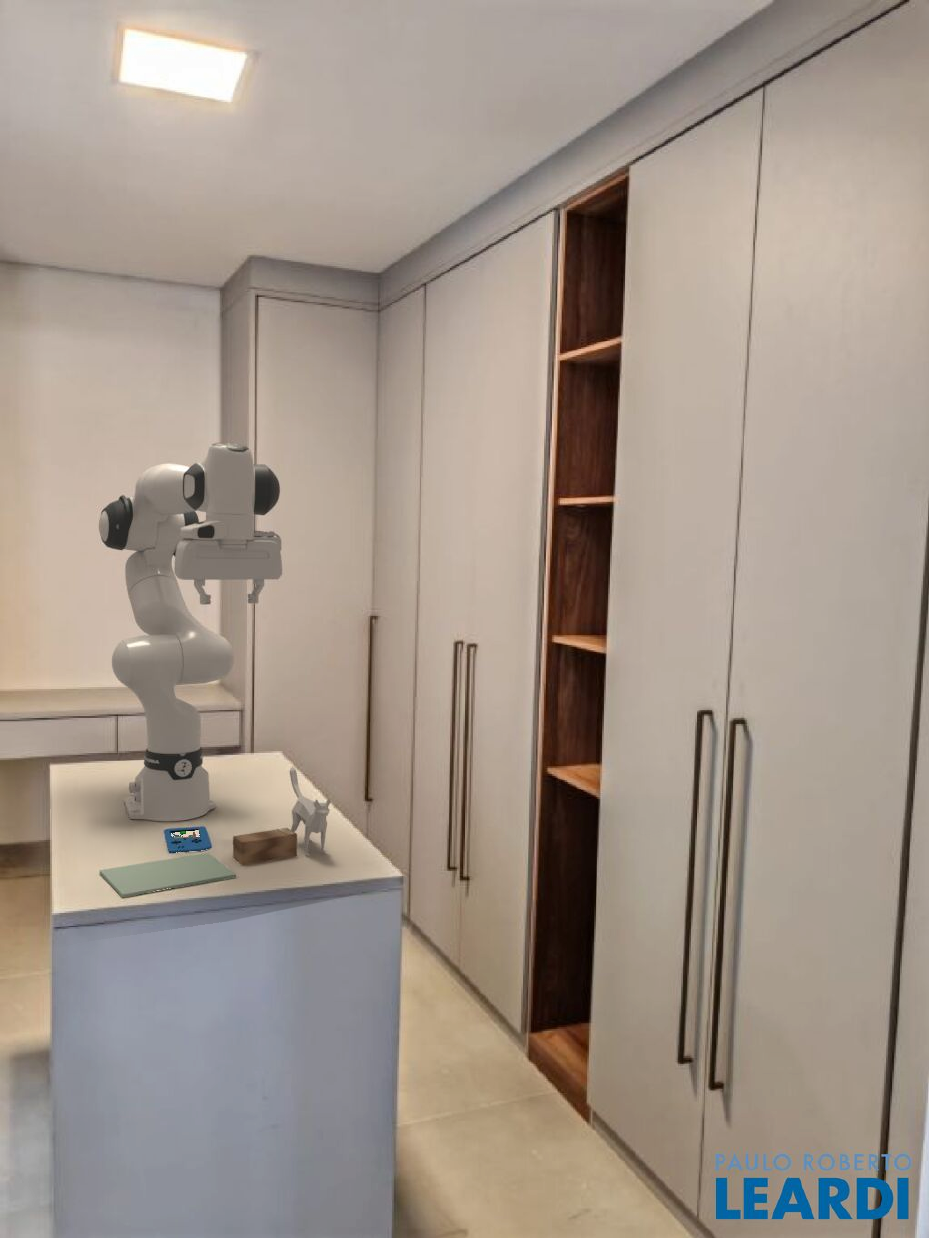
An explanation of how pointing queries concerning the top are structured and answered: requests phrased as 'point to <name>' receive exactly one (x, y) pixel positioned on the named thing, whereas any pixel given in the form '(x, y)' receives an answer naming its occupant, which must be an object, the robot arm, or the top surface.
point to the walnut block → (264, 846)
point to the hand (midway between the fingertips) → (229, 603)
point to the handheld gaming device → (187, 840)
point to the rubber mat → (166, 874)
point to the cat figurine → (309, 814)
